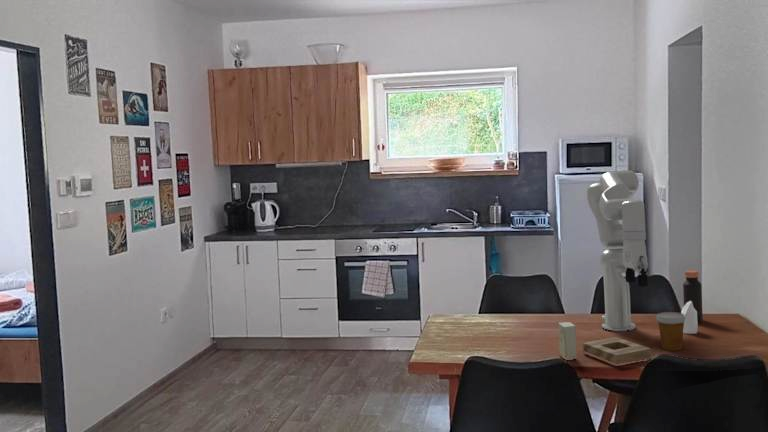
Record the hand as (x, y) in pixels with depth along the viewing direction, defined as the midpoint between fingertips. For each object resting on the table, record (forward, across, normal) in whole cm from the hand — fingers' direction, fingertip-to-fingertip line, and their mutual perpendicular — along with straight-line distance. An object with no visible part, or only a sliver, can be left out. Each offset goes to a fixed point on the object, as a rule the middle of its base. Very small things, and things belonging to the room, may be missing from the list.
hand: (636, 283), depth 253 cm
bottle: (+23, -30, +36) cm, 53 cm away
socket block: (+24, +6, -11) cm, 27 cm away
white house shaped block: (+23, -16, +27) cm, 39 cm away
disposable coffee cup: (+24, +2, +11) cm, 26 cm away
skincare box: (+24, +2, -27) cm, 36 cm away
